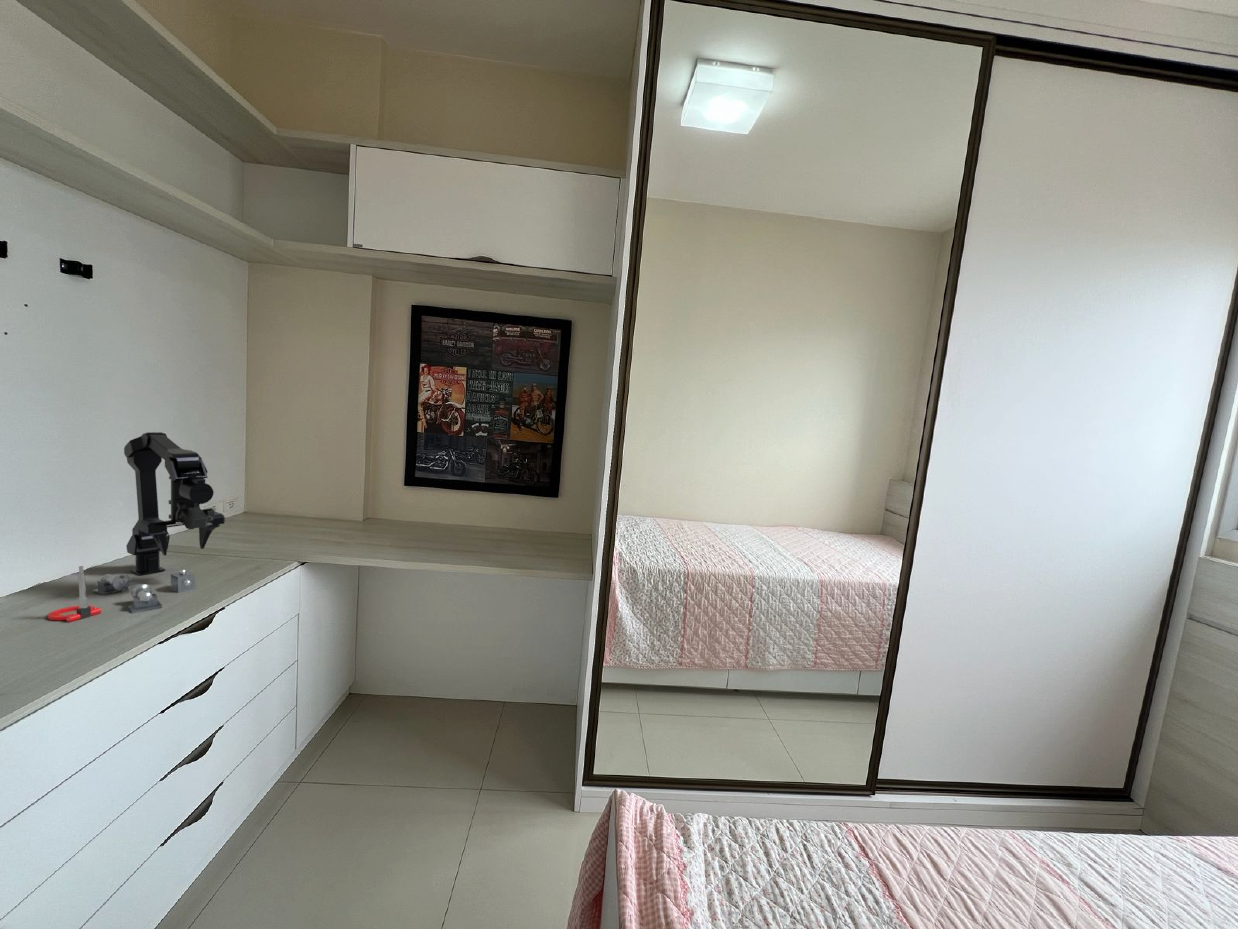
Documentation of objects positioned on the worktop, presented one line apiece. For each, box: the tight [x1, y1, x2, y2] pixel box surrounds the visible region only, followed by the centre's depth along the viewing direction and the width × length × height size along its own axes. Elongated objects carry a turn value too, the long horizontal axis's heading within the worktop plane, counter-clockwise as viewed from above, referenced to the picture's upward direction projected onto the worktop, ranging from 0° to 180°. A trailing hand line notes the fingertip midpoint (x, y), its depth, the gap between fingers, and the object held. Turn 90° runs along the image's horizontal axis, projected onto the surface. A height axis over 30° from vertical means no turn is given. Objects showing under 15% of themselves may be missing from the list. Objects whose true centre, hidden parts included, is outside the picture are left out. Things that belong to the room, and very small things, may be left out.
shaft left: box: [91, 573, 132, 596], centre depth 157 cm, size 7×6×5 cm
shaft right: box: [128, 583, 163, 614], centre depth 149 cm, size 7×6×5 cm
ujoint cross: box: [170, 568, 195, 593], centre depth 162 cm, size 6×4×6 cm, turn 61°
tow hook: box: [47, 565, 102, 623], centre depth 141 cm, size 8×13×9 cm
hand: (183, 551), depth 161 cm, fingers open, 9 cm apart
